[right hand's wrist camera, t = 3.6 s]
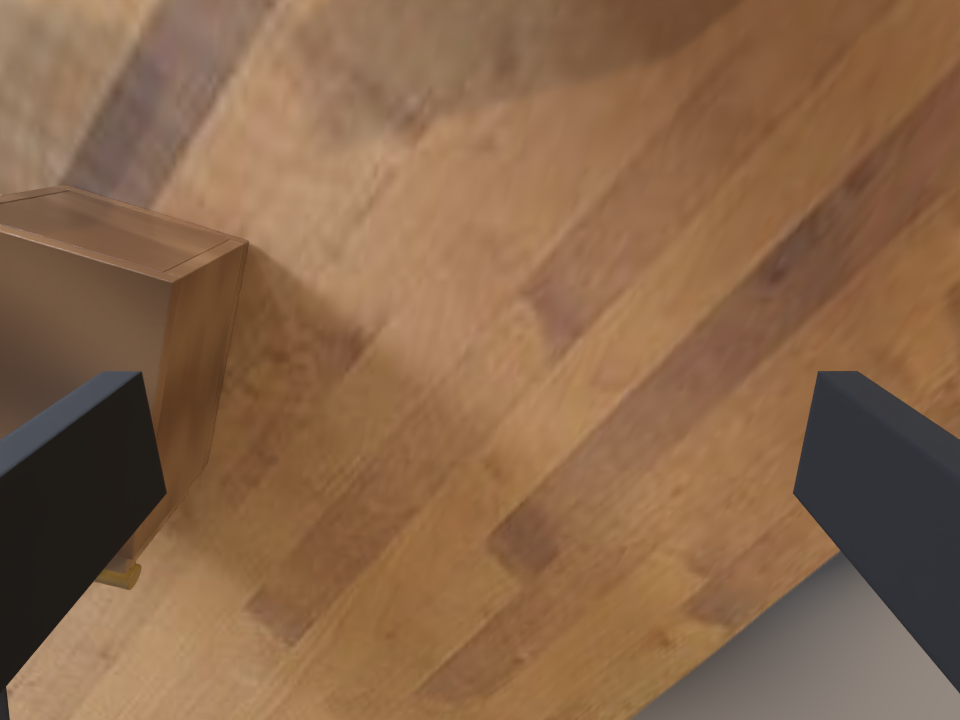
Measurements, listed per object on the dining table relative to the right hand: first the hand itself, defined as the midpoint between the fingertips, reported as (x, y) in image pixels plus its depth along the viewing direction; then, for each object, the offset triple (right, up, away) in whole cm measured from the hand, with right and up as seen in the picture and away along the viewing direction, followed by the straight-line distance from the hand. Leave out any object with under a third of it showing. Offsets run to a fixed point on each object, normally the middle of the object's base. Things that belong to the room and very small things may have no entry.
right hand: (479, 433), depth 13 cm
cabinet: (-21, +3, +27) cm, 35 cm away
